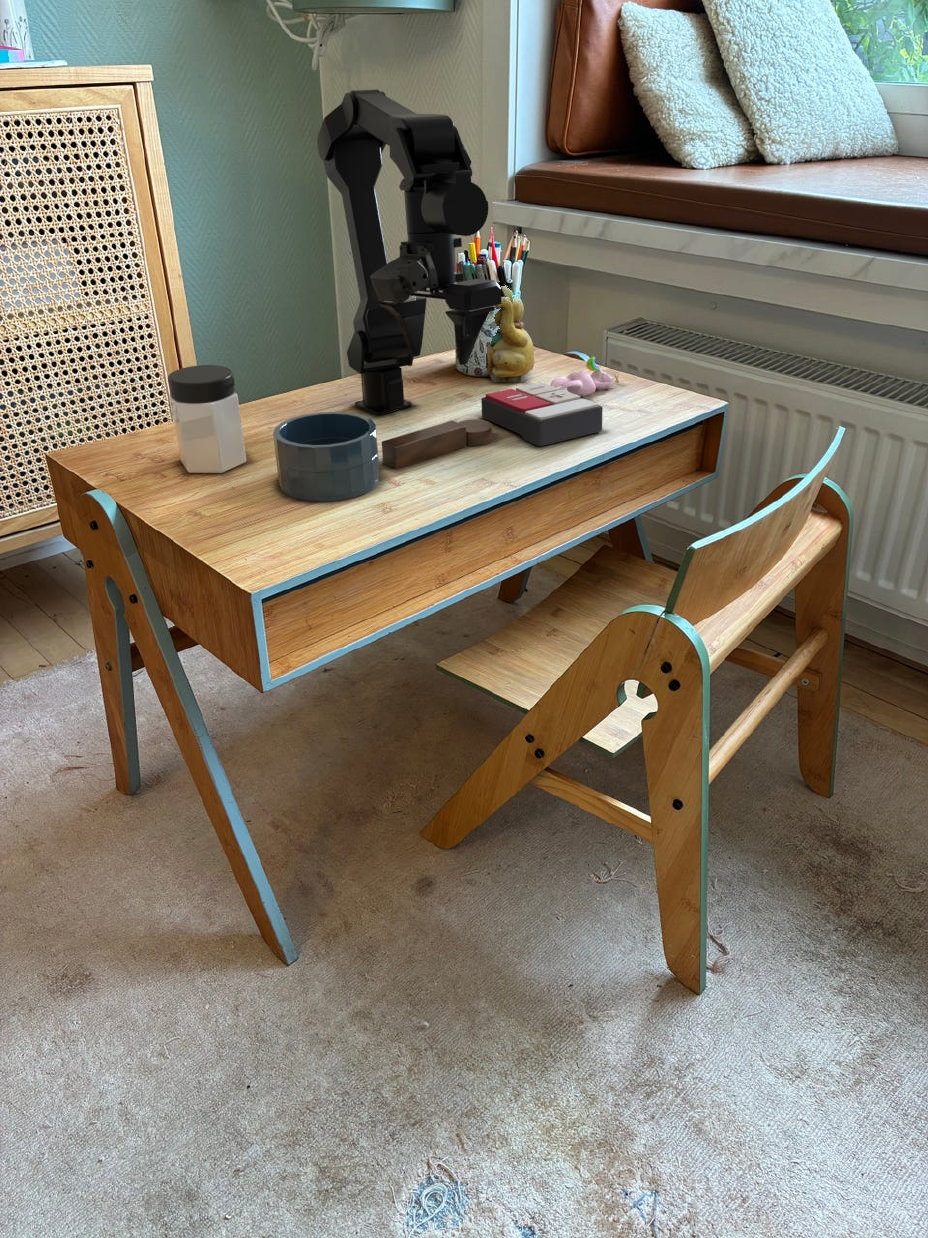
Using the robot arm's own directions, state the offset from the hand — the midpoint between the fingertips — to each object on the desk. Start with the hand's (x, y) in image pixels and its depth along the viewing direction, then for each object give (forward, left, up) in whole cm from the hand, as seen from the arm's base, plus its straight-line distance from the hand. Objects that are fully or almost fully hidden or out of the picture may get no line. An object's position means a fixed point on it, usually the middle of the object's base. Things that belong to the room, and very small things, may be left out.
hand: (439, 360), depth 127 cm
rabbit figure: (-3, +31, -13) cm, 33 cm away
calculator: (+2, +17, -13) cm, 21 cm away
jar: (-17, -25, -13) cm, 33 cm away
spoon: (0, 0, -12) cm, 12 cm away
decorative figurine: (-18, +29, -13) cm, 36 cm away
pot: (-1, -17, -12) cm, 21 cm away
